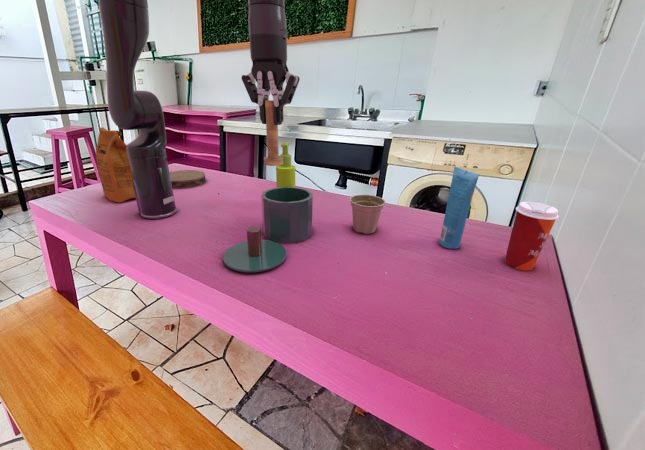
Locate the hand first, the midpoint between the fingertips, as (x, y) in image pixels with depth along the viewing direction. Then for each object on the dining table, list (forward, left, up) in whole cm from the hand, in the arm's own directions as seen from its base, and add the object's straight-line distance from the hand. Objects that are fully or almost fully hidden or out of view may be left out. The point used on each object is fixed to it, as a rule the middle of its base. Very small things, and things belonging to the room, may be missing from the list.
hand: (272, 123), depth 68 cm
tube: (+43, +14, -28) cm, 53 cm away
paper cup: (+58, +11, -28) cm, 65 cm away
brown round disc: (-55, +23, -28) cm, 66 cm away
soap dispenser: (-7, +19, -28) cm, 34 cm away
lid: (+3, -13, -27) cm, 30 cm away
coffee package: (-59, +1, -28) cm, 66 cm away
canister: (+3, +2, -27) cm, 28 cm away
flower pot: (+21, +13, -28) cm, 37 cm away
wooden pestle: (0, 0, -9) cm, 9 cm away
